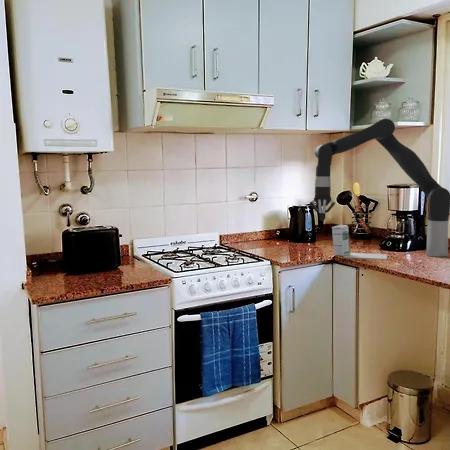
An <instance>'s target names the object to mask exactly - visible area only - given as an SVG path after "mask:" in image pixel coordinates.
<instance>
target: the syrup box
mask: <svg viewBox="0 0 450 450" xmlns="http://www.w3.org/2000/svg"><path fill="white" fill-rule="evenodd" d="M331 229H332V230H331V232H332V233H331V234H332V244H333V253H334V256H340V257H341V256H342V257H344V255H348V254H350V253H351V244H350V233H349V225H347V224H342V225H341V224H338V225H335V226H332V227H331Z"/></svg>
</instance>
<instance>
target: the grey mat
mask: <svg viewBox="0 0 450 450" xmlns="http://www.w3.org/2000/svg"><path fill="white" fill-rule="evenodd" d="M342 257H343V258H345V259H366V260H382V259H384V260H386V261H387V260H388V254H384V253H383V254H382V253H365V252H364V253H362V252H361V253H360V252H350V254H348V255H344V256H342Z"/></svg>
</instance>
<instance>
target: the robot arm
mask: <svg viewBox="0 0 450 450" xmlns="http://www.w3.org/2000/svg"><path fill="white" fill-rule="evenodd" d="M395 130H396V125H395V122H394V121H393V120H392V119H390V118H382V119H380V120H378V121H377V122H374V123H373V124H372V125H370V126H367V127H366V128H363V129H360V130H357V131H356V132H353V133H349V134H347V135H345V136H342V137H340V138H336V139H335V140H333V141H330V142H327V143H323V144H320V145H317V146H316V148H315V150H314V155H315V157H316V158H317V165H316V168H315V181H314V198H313V200H311V201H310V202H309V204H310V206H311V207H312V208H313V210H314V211H315V212H316V213H318V214H319V215H318V219H319V220H320V221H321V222H324V221H325V220H326V213H329V212H330V211H331V210H332V209H333V207H334V206H335V205H336V202H335V201H333V199H332V197H331V193H332V192H331V191H332V189H331V185H332V182H331V166H332V161H333V160H332V159H333V156H335V155H337V154H338V155H339V154H343V153H345V152H348V151H351V150H352V149H354V148H357V147H359V146H361V145H363V144H364V143H367V142H370V141H372V140H375V141H376V142H378V144H380V146H382V147H383V149H385V150H386V151H387V152H388V153H389V154H390V156H391V157H392V158H393V159H394V160H395V162H396V163H397V164H398V167H400V168H401V169H402V170H403V172H404V173H405V174H406V175H407V176H408V177H409V178H410V179H411V180H412V181H413V182H414V183H415V184H416V185H417V186H418V188H420V189H421V191H422V192H423V193H424V195H425V197H426V198H427V200H428V202H429V205H428V214H427V229H426V230H427V231H426V233H427V234H426V249H425V250H426V253H425V254H426V256H429V257H439V258H441V257H448V255H449V253H448V252H449V236H448V235H449V220H450V219H449V217H450V191H449V190H448V189H447V188H445V187H442V185H441V184H439V183H438V182H437V181H436V180H435V179H434V178H433V176H432V175H431V174H430V171H429V170H428V168H427V166H426V165H425V163H424V162H423V161H422V160H421V158H420V156H418V154H416V152H414V151H413V150H412V149H410V148H409V147H408V146H405V145H404V144H403V143H401V142H400V141H399V140H398V139H397V137H396V136H395V135H394V132H395ZM328 205H329V206H328ZM317 206H318V207H317ZM327 206H328V208H327Z"/></svg>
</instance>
